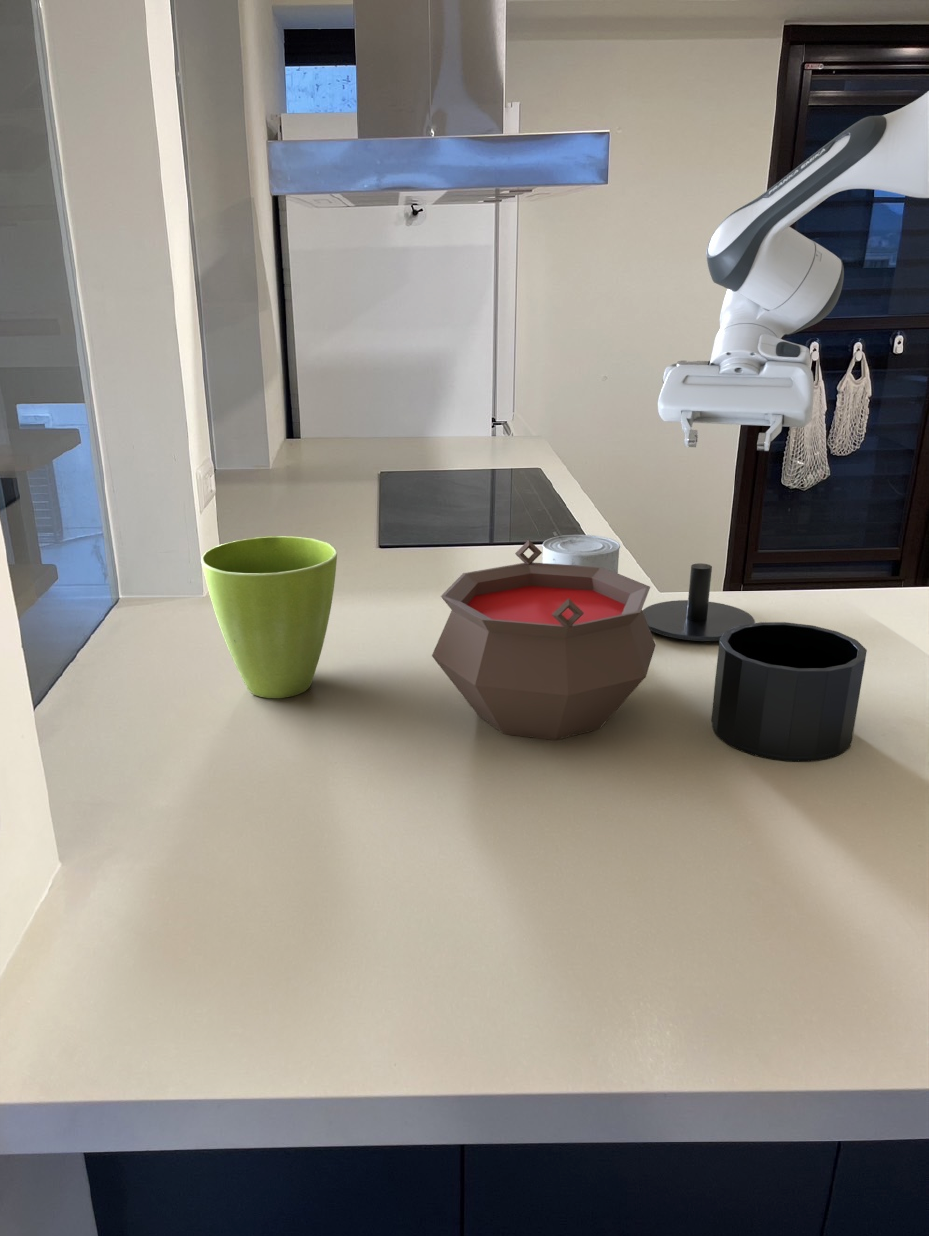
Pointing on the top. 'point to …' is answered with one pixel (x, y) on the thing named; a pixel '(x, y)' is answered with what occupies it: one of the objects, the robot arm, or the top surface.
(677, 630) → the lid
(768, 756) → the pot
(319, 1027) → the top surface
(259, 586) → the flower pot
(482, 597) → the brown cauldron
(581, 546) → the tin can
